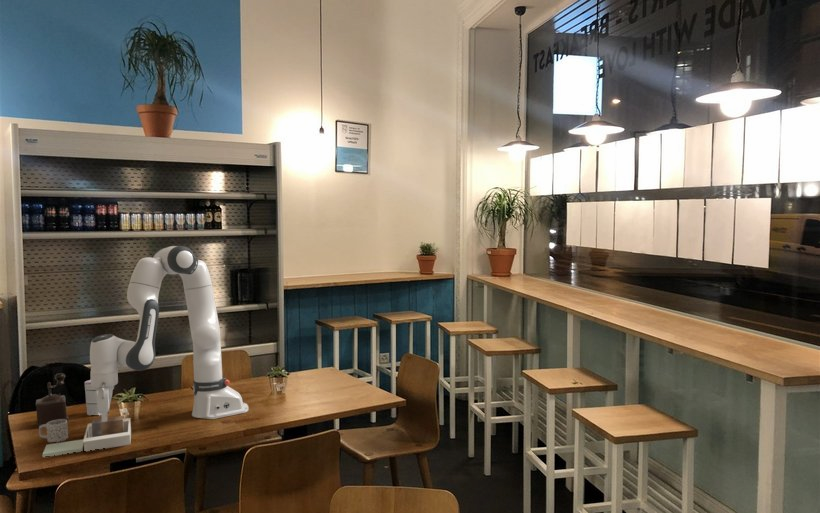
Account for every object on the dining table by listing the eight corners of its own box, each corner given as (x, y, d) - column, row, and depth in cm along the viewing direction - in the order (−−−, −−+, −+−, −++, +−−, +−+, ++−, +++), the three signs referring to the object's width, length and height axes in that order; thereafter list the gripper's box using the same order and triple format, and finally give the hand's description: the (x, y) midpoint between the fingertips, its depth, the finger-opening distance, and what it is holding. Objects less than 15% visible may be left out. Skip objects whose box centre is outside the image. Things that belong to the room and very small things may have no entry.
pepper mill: (69, 423, 247) (66, 379, 246) (37, 428, 241) (34, 383, 240) (68, 413, 260) (65, 371, 259) (37, 418, 255) (34, 375, 253)
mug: (71, 436, 232) (70, 418, 231) (62, 442, 225) (61, 424, 225) (44, 437, 231) (43, 419, 231) (34, 443, 225) (33, 425, 224)
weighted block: (124, 436, 229) (122, 415, 228) (123, 441, 224) (122, 419, 224) (93, 441, 225) (92, 419, 224) (92, 445, 220) (91, 423, 220)
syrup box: (98, 415, 255) (96, 381, 255) (86, 415, 257) (84, 381, 256) (108, 411, 261) (106, 377, 260) (95, 411, 262) (93, 377, 261)
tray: (131, 429, 237) (130, 417, 237) (130, 447, 218) (129, 434, 218) (88, 435, 231) (87, 423, 231) (83, 454, 212) (83, 441, 212)
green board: (84, 442, 224) (84, 439, 224) (82, 451, 215) (82, 448, 215) (46, 448, 219) (46, 444, 219) (42, 457, 210) (42, 454, 210)
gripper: (112, 385, 215) (113, 424, 216) (115, 372, 234) (116, 408, 234) (92, 387, 212) (93, 427, 213) (96, 374, 231) (97, 410, 232)
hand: (105, 417), depth 224 cm, fingers open, 8 cm apart
